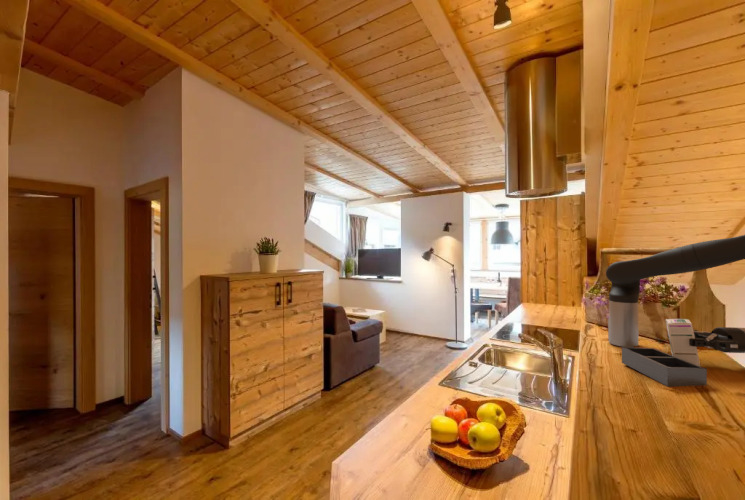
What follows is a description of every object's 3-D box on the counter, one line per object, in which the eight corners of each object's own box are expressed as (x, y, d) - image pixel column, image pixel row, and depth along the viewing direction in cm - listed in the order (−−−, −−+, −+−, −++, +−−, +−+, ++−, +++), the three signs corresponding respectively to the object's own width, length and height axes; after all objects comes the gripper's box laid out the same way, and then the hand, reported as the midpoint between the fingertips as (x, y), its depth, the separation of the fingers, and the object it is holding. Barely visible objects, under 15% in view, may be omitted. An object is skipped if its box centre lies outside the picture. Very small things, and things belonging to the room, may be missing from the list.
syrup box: (701, 371, 95) (693, 322, 96) (675, 369, 99) (667, 322, 99) (697, 364, 100) (689, 318, 100) (672, 363, 103) (664, 318, 104)
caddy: (621, 362, 105) (621, 347, 105) (653, 363, 104) (653, 348, 104) (667, 386, 87) (667, 367, 87) (706, 387, 86) (706, 369, 86)
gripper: (715, 322, 105) (660, 321, 107) (763, 334, 91) (699, 332, 93) (715, 345, 105) (660, 344, 107) (763, 360, 91) (699, 358, 93)
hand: (679, 338), depth 100 cm, fingers closed on syrup box, 7 cm apart
